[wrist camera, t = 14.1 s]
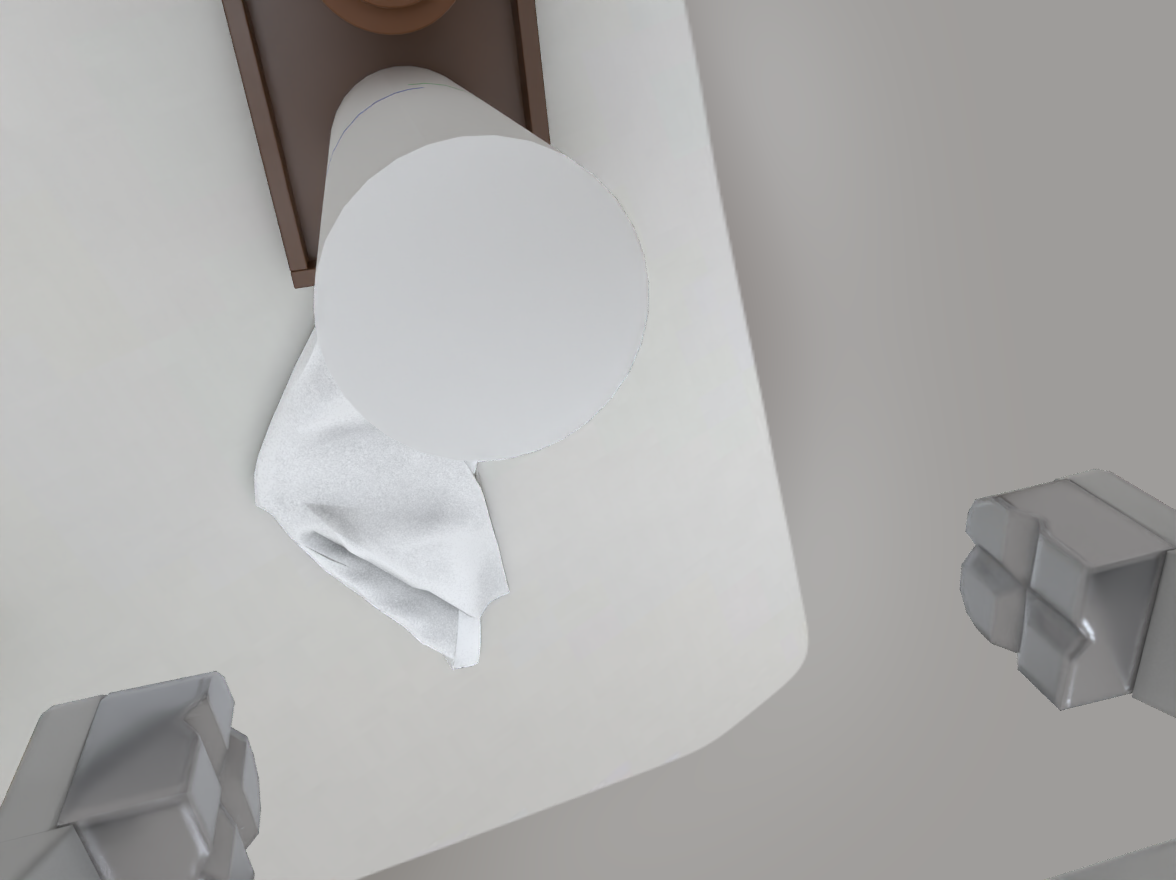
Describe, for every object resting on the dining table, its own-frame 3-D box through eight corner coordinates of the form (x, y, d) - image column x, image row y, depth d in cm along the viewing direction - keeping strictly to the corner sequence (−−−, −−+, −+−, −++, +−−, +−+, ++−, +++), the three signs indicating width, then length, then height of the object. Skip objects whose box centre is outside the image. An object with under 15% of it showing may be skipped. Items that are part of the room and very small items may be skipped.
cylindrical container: (303, 96, 39) (250, 206, 17) (457, 43, 39) (599, 84, 17) (368, 249, 42) (393, 506, 20) (509, 199, 43) (681, 395, 21)
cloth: (235, 231, 40) (230, 243, 39) (530, 241, 44) (540, 251, 42) (269, 682, 51) (267, 709, 49) (504, 659, 55) (511, 684, 53)
